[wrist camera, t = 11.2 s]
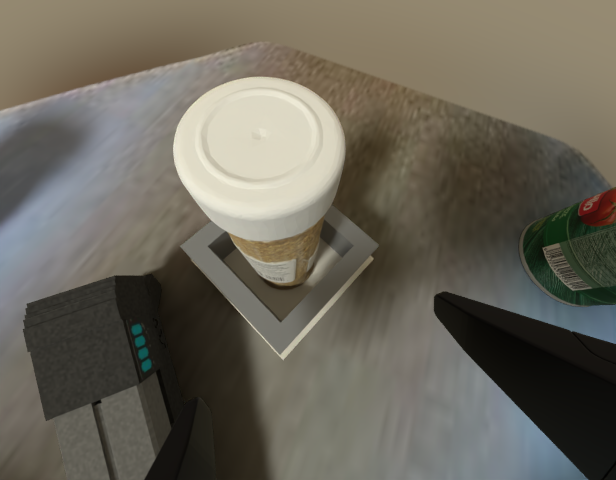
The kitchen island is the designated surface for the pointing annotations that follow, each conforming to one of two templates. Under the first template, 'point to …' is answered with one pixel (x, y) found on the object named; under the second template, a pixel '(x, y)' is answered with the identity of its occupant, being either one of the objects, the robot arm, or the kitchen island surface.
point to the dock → (293, 302)
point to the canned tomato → (574, 252)
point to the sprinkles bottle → (264, 170)
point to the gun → (105, 375)
